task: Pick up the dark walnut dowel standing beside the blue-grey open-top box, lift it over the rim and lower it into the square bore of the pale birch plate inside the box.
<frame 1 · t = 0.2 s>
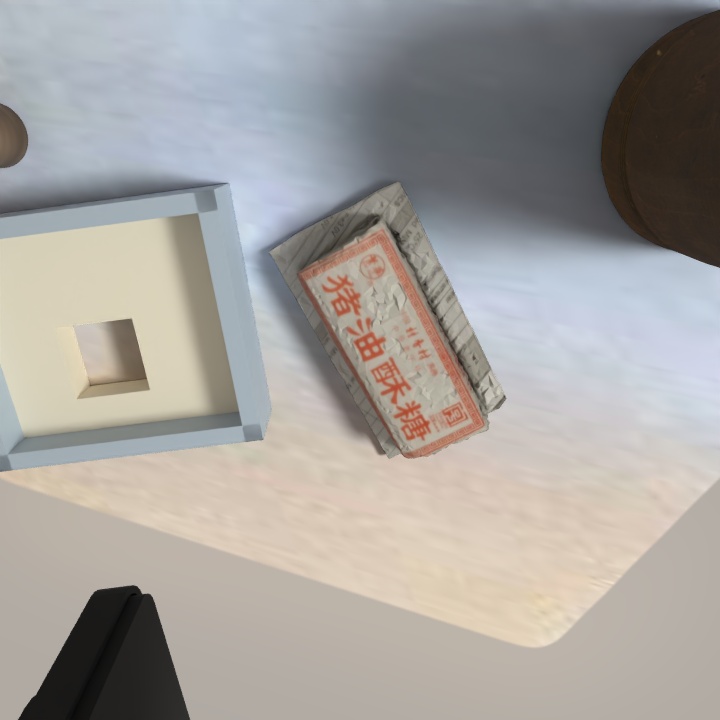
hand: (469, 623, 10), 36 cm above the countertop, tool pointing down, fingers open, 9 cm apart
wooden container: (712, 138, 42), on the countertop
box: (122, 319, 45), on the countertop
packaged product: (392, 324, 47), on the countertop
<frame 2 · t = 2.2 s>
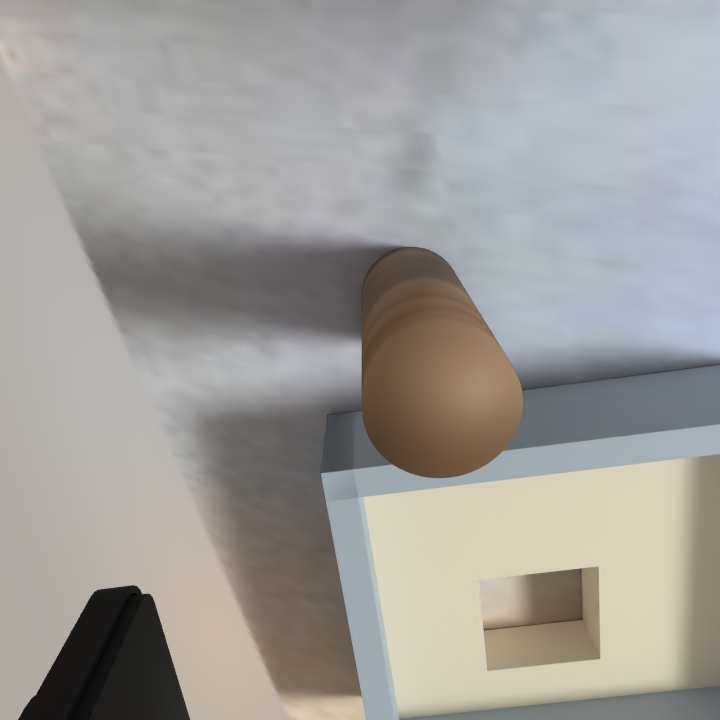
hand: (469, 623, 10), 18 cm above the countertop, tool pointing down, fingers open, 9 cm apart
dowel: (410, 296, 26), on the countertop
box: (546, 546, 31), on the countertop
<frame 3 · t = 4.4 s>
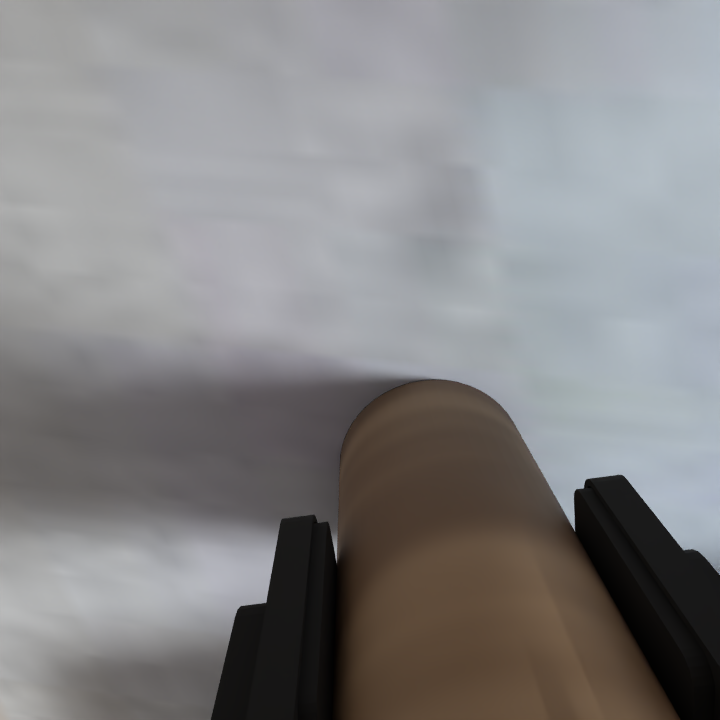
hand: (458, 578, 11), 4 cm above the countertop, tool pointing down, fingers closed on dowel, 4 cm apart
dowel: (431, 464, 14), on the countertop, touching gripper
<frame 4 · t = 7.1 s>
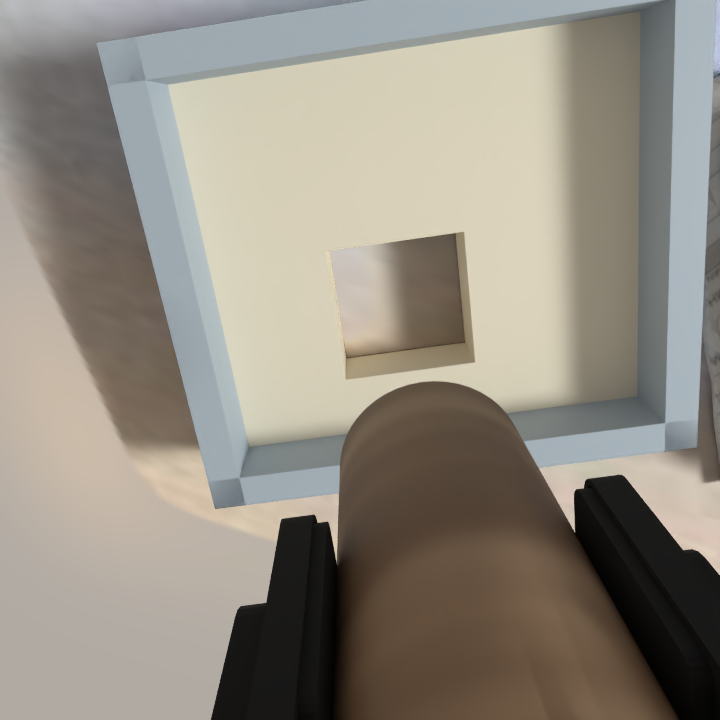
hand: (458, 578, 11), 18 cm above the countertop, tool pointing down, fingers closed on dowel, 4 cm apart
dowel: (431, 466, 14), point 14 cm above the countertop, touching gripper
box: (416, 242, 26), on the countertop
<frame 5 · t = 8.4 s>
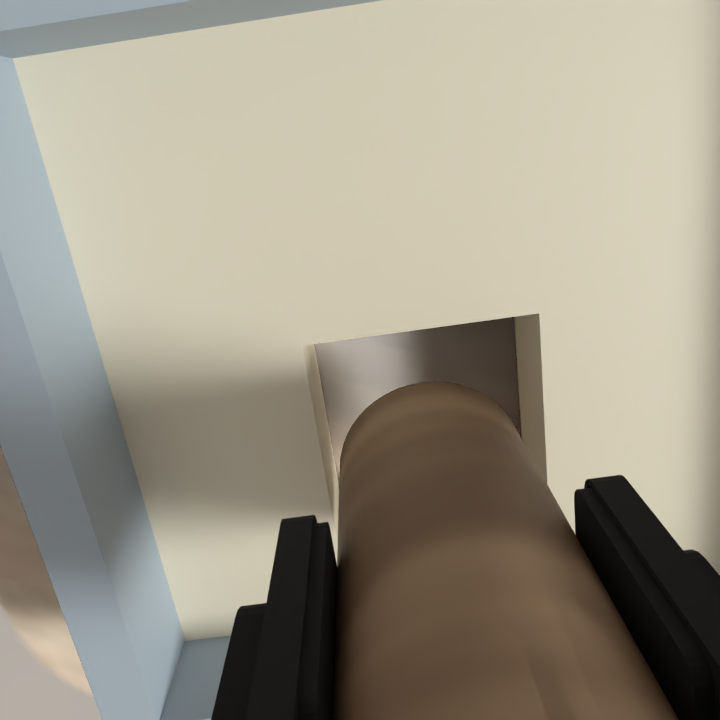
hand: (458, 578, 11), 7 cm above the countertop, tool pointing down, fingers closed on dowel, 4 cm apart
dowel: (431, 466, 14), point 3 cm above the countertop, touching gripper
box: (451, 317, 17), on the countertop
when the fingers open (5 cm above the countertop, at t = 9.6 s): dowel stays where it is, resting in box.
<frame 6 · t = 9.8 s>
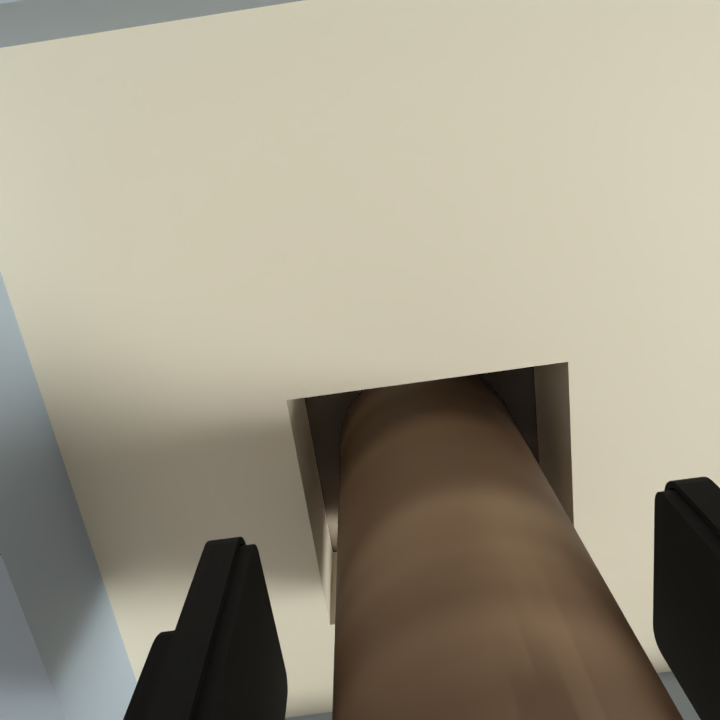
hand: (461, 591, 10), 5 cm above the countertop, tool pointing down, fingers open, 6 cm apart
dowel: (426, 443, 15), resting in box
box: (461, 359, 14), on the countertop
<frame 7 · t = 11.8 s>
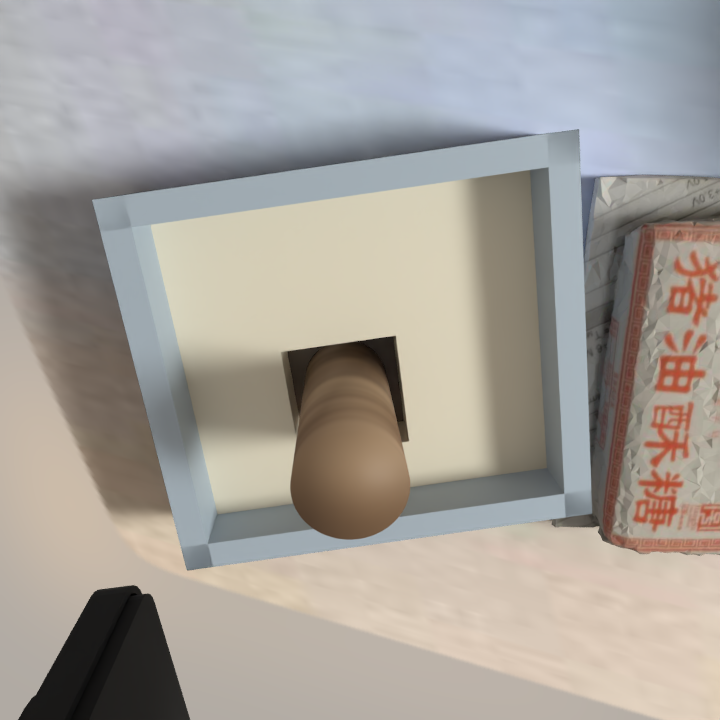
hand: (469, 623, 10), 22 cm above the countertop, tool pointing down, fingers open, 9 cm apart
dowel: (345, 379, 32), resting in box
box: (360, 338, 31), on the countertop
packaged product: (660, 359, 33), on the countertop
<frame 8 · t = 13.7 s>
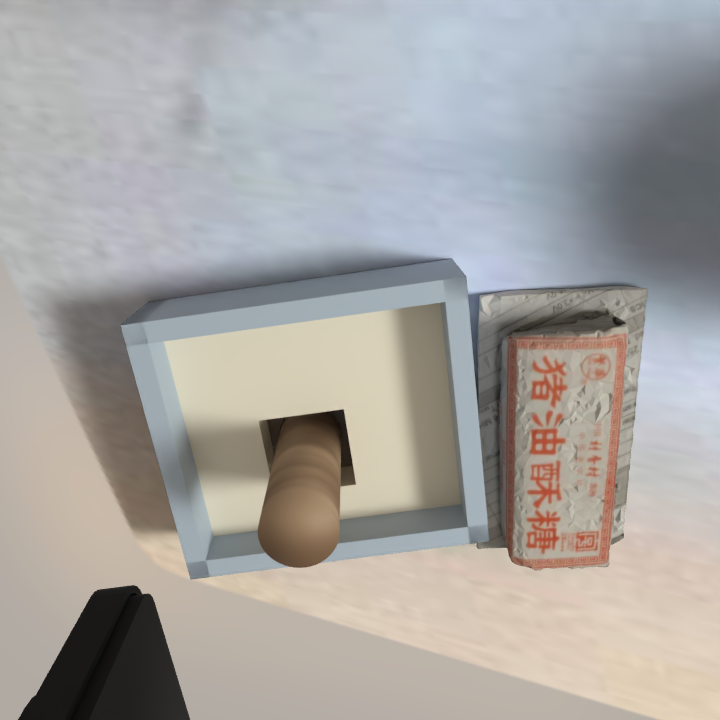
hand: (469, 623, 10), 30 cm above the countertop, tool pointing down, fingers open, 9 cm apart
dowel: (310, 434, 42), resting in box
box: (320, 405, 41), on the countertop
packaged product: (549, 418, 43), on the countertop
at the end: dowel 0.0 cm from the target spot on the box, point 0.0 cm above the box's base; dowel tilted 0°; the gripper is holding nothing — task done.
